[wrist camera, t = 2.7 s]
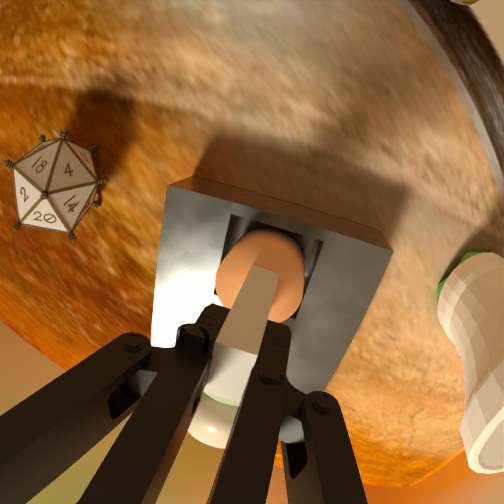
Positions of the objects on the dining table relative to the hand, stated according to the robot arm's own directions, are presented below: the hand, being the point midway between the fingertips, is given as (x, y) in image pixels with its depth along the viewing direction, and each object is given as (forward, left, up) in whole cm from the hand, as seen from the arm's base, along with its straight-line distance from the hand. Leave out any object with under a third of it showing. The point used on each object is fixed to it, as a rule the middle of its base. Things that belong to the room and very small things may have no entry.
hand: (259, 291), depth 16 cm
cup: (+17, +1, -7) cm, 18 cm away
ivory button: (0, -13, -2) cm, 13 cm away
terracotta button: (0, 0, -3) cm, 3 cm away
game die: (-17, +1, -7) cm, 19 cm away
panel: (0, -7, -7) cm, 9 cm away
